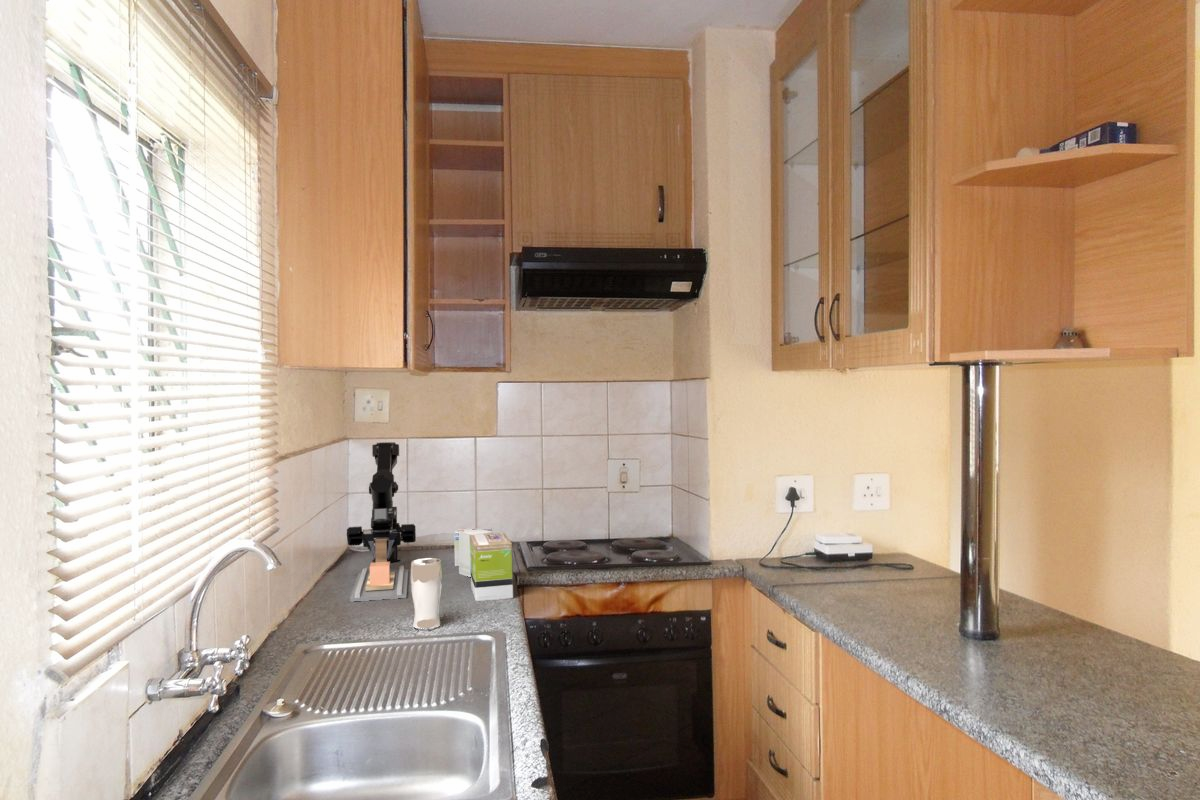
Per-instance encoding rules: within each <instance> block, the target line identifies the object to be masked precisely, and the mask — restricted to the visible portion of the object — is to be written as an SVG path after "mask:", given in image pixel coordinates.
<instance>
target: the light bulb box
mask: <svg viewBox="0 0 1200 800" xmlns="http://www.w3.org/2000/svg"><path fill="white" fill-rule="evenodd" d="M476 529H477V528H458V529H456V530H455V531H454V532H453V541H454V542H453V543H454V544H453V549H454V551H453V554H454V567H459V532H461V531H468V530H476ZM481 529H482V530H487V531H492V532H493V528H481Z"/></svg>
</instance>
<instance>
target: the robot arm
mask: <svg viewBox="0 0 1200 800" xmlns="http://www.w3.org/2000/svg"><path fill="white" fill-rule="evenodd" d="M371 450H372V452H371V454H372V457H374V462H375V464H376V468H377V469H376V472H375V473H374V474H373V475H372V478H371V479H372V480H371V482H369V486H368V493H369V495H371V501H372V509H371V518H370V528H364V529H363V527H362V526H360V525H359V526H348V528H347V529H346V539H347V540H346V541H347V546H351V547H352V546H360V545H361V544H362V545H363V547H364V548H367V549H368V551H369V553H370V554H371V556H372V561H371V562H373V561H374V562H373V563H375V562H376V558H375V541H376V539H387V562H390V564H391V563H395V562H400V561H401V558H398V546H400V545H402V543H401V542H403V543H404V544H409V543H416V539H417V538H416V537H417V536H416V535H417V534H416V531H417V530H416V525H415V524H414V523H403V524H401V525H400V522H398V506H393V505H394V500H393V497H395V494H397V492H398V491H399V485H398V483H397V481H395V475H394V474H393V469H394V468H395V466H396V465H397V464H398V457H400V444H397V443H396V442H395V441H393V442H392V441H391V442H387V441H385V442H376V444H372V449H371Z"/></svg>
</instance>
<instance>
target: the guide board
mask: <svg viewBox="0 0 1200 800" xmlns="http://www.w3.org/2000/svg"><path fill="white" fill-rule="evenodd" d="M390 572H395V580H394V587H393V589H386V590H371V591H366V584H367V580H368V577H369V573H370V571H368V567H363V568H362V571H359V572H358V574H357V577H356V580H355V582H354V585H353V587H352V590H351V594H350V597H349V603H355V602H354V601H361V602H370V601H369V600H376V601H383V600H382V599H390V600H399V599H398V598H405V599H407V598H408V597H407V596H408V595H407V594H408V581H409V569H406V568H405V565H399V569H393V570H392V569H390ZM406 597H407V598H406Z"/></svg>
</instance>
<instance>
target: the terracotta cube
mask: <svg viewBox="0 0 1200 800" xmlns="http://www.w3.org/2000/svg"><path fill="white" fill-rule="evenodd" d="M390 570H391V563H390V562H370V564H369V572H370V585H385V584H390Z"/></svg>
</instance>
